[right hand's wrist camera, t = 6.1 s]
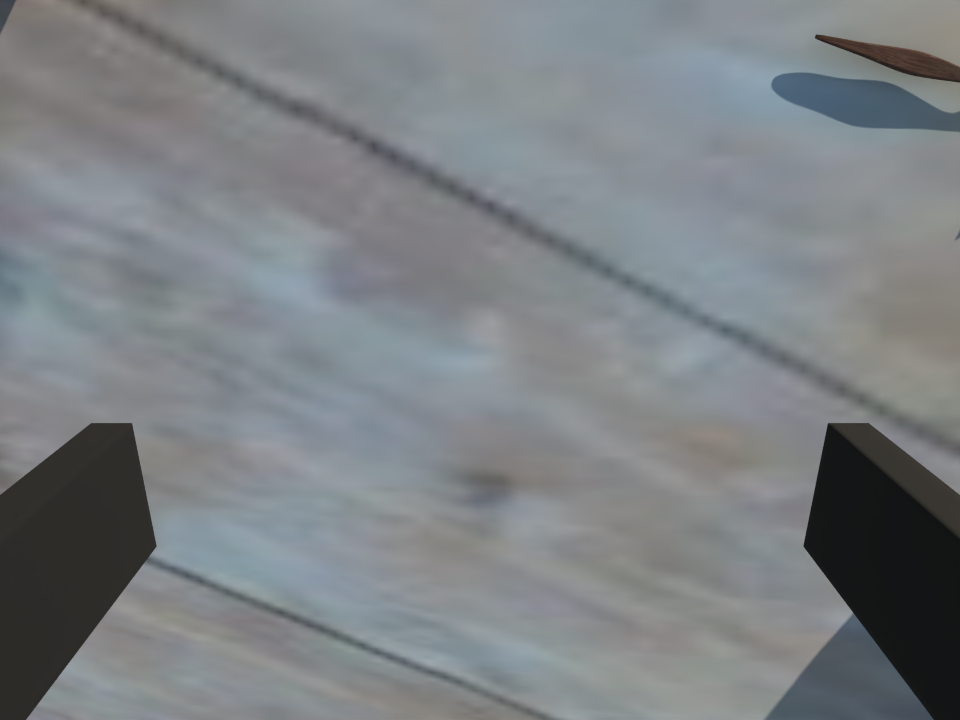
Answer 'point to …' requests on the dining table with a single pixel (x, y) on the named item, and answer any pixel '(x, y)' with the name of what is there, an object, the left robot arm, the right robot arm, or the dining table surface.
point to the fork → (899, 59)
